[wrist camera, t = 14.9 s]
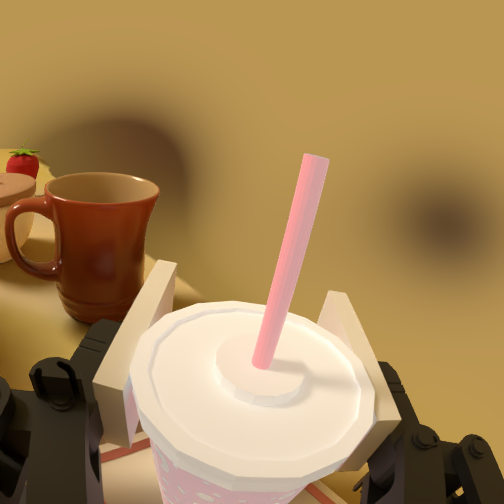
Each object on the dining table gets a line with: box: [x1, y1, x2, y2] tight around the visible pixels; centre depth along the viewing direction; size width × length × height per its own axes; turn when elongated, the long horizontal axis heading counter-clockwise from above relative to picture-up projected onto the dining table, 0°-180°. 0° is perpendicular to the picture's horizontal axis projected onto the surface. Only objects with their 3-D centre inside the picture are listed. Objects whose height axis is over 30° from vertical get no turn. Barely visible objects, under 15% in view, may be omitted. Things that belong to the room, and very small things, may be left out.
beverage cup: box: [130, 153, 375, 504], centre depth 8 cm, size 6×6×14 cm
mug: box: [4, 172, 160, 324], centre depth 22 cm, size 12×9×10 cm
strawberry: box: [6, 146, 39, 179], centre depth 40 cm, size 6×8×10 cm
